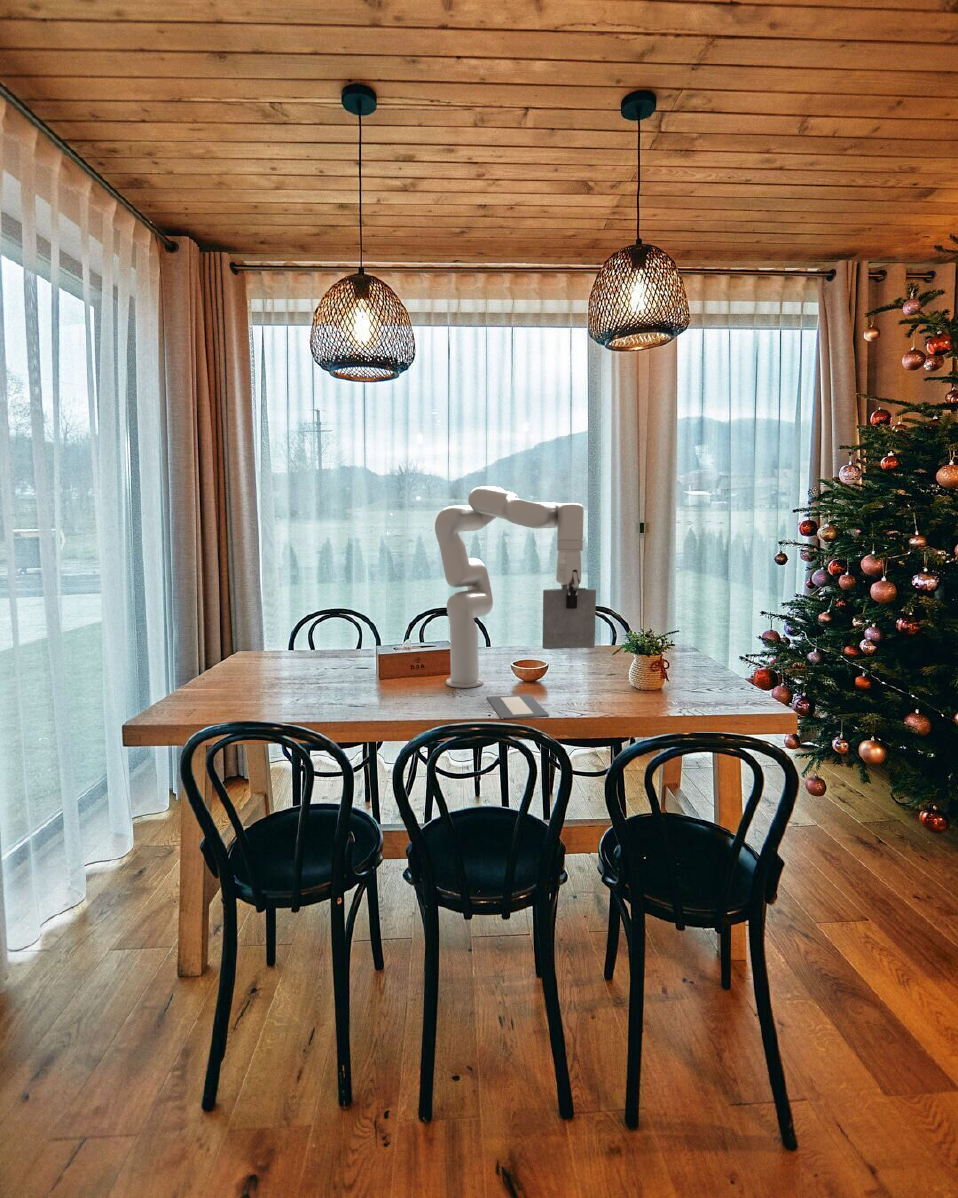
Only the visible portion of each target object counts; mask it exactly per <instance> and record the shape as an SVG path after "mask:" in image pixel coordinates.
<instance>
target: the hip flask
mask: <svg viewBox="0 0 958 1198" xmlns="http://www.w3.org/2000/svg"><path fill="white" fill-rule="evenodd" d="M569 584H573V583H569ZM570 589H571V587H570ZM577 592H578V594H577V608H576V609H567V608H566V595H568V594H567V585H564V589H561V588H552V589H551V588H549V589H548V588H547V589H543V590H542V649H544V650H555V649H557V650H559V649H560V650H561V649H594V648H595V646H596V645H595V644H596V609H597V608H596V606H597V605H596V604H597V601H596V600H597V589H595V588H586V587H579V588H578V590H577Z"/></svg>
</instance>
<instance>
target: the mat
mask: <svg viewBox="0 0 958 1198" xmlns="http://www.w3.org/2000/svg"><path fill="white" fill-rule="evenodd" d="M486 699H487V701H488V702H489V704H490V705H491V706H492V709H493V710H494V711H495V712H496V714H497V715H498V717H499V718H500V719H501V718H506V719H505V720H508V719H522V718H523V719H524V718H525V719H527V718H536V717H535V716H544V717H549V716H550V715H549V713H548V712H547V711H546V710H545V709H544V708H543V706H541V704H539V702H538V701H537V700H536V699H535V698H534V697H533V696H532V695H531V694H515V695H514V694H513V695H496V696H486Z"/></svg>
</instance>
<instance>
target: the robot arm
mask: <svg viewBox="0 0 958 1198" xmlns="http://www.w3.org/2000/svg"><path fill="white" fill-rule="evenodd" d="M467 499H468V500H467V501H468V505H450V506H447V507H445V508H443V509H442V510H441V511H440V512H439V513H438V515H437V516H436V518H435V521H434V531H435V536H436V540H437V543H438V546H439V549H440V555H441V561H442V566H443V570H444V571H443V572H444V576H445V581H446V583H447V584H448V586H450V587H451V588H466V587H467V590H461V591H458V592H457V591H456V592H455V593H453V594H451V595H450V596H449V597H448V599H447V602H446V612H447V618H448V622H449V639H450V641H449V644H450V648H449V649H450V651H449V653H450V657H449V658H450V677H448V678H447V679H446V680H445V683H446V685H447V686H449V687H452V688H459V689H460V688H461V689H465V688H466V689H470V688H475V687H480V686H481V685H483V684H484V679H483V678H482V677H480V675H479V674H480V673H479V629H478V626H477V623H476V622H475V619H476V618H480V617H483V616H486V615H488V614H490V612H491V611H492V609H493V606H494V601H493V600H494V597H493V592H492V588H491V582H490V578H489V572H488V569H487V567H486V565H485V563H484V562H483V561H482V560H481V559H478V558H477V557H468V553H467V548H466V545H465V541H464V540H463V538H462V537H461V536H460V535H459V533H460V532H474V531H479V530H482V529H483V528H485V527H486V526H487V525H488V524H490V523H492V522H493V521H494V520H495V519H496V518H499V519H502V520H505V521H507V522H510V523H512V524H515V525H519V526H522V527H525V528H531V529H537V530H538V529H554V528H555V529H557V536H556V537H557V538H556V541H557V544H556V545H557V546H556V547H557V548H556V550H557V558H556V559H557V561H556V575H555V576H556V577H555V580H556V582H557V583H558V584H560V587H561V588H560V589H564V585H567V594H568V595H566V608H567V609H576V608H577V594H578V592H577V590H578V588H580V587H579V586H580V584H581V581H582V558H581V557H582V555H581V552H583V549H584V511H585V510H584V506H583V505H582V504H581V503H559V502H558V503H557V502H534V501H528V500H525V499H520V498H519V496H518V495H517V493H514V492H511V491H506V490H505V489H503V488H502V487H500V486H499V487H498V486H478V487H475V488H473V489H472V490H471V491H470V493H469V495H468V498H467ZM569 583H573V584H569ZM570 587H571V589H570Z"/></svg>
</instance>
